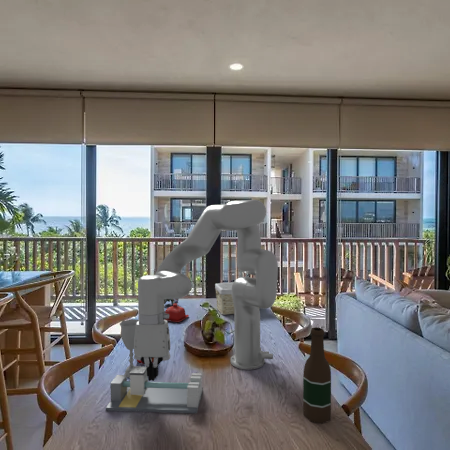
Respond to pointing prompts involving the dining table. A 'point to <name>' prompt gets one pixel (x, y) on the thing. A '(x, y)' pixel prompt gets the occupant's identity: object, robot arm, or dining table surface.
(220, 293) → the storage basket
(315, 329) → the beer bottle
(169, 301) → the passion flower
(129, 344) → the chalice
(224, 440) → the dining table surface
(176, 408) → the cable rig
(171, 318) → the butter dish
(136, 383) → the sleeve
